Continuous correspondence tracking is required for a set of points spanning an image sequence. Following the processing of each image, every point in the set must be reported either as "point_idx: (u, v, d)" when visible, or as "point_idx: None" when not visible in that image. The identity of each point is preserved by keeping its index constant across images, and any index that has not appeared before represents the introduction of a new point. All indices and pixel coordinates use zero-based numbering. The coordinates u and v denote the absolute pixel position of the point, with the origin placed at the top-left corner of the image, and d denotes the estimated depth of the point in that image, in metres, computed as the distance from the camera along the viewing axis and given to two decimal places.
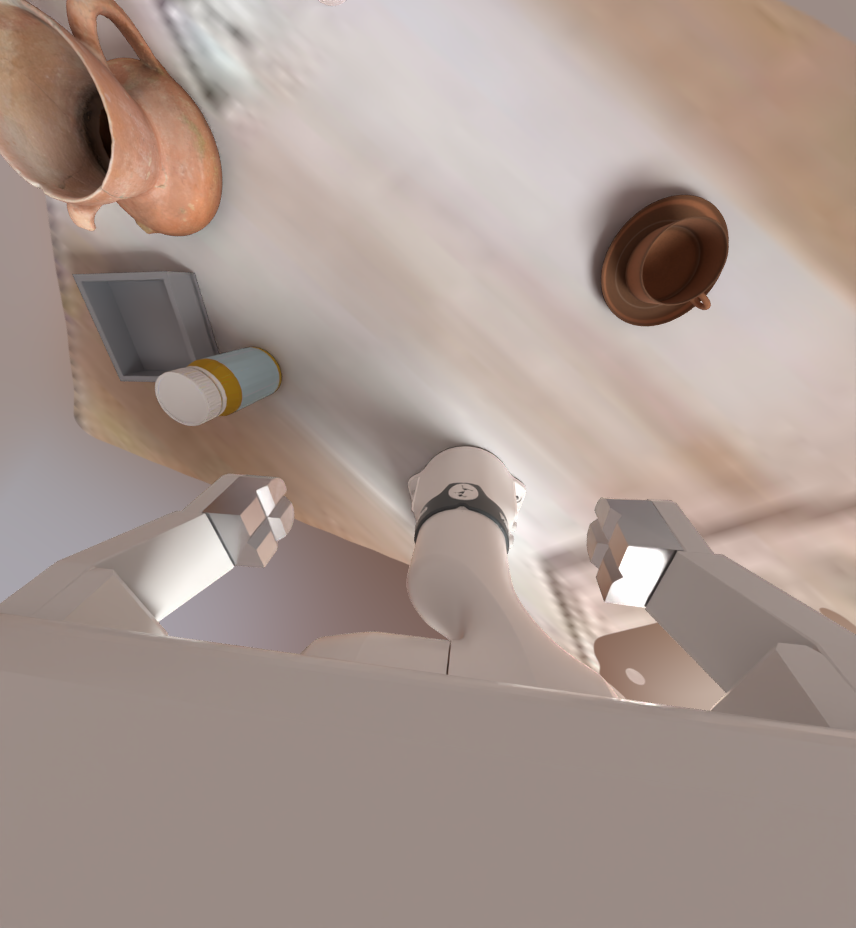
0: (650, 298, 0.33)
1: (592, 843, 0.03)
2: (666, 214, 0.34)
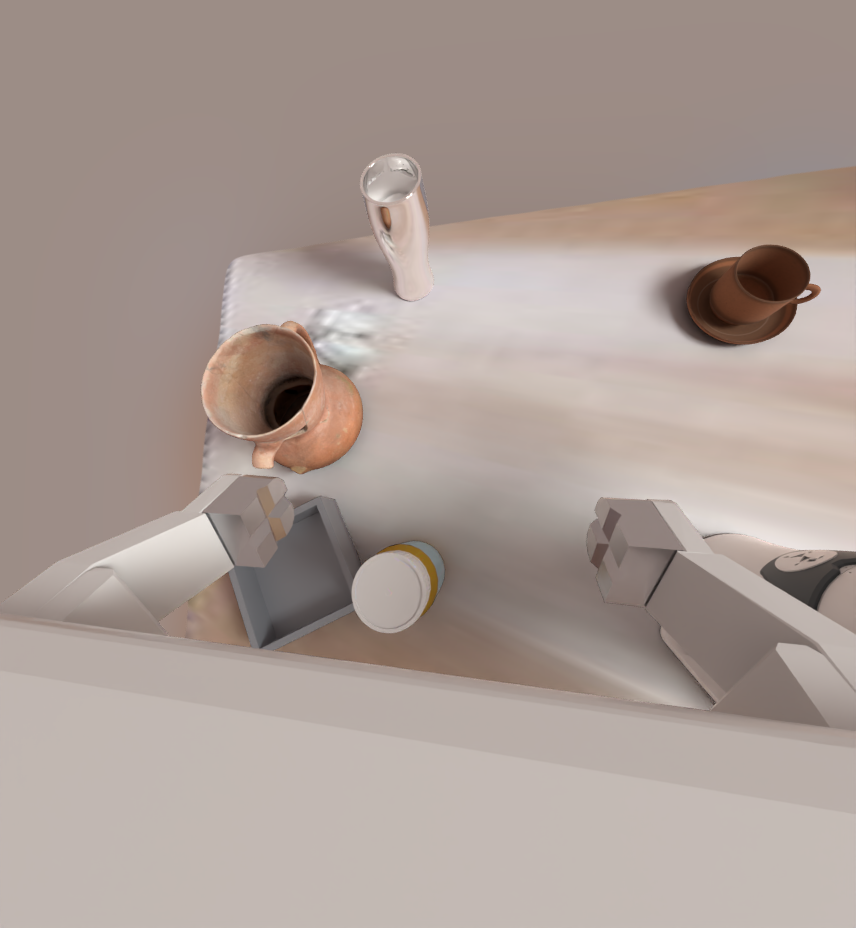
0: (772, 302, 0.36)
1: (592, 843, 0.03)
2: (708, 278, 0.43)
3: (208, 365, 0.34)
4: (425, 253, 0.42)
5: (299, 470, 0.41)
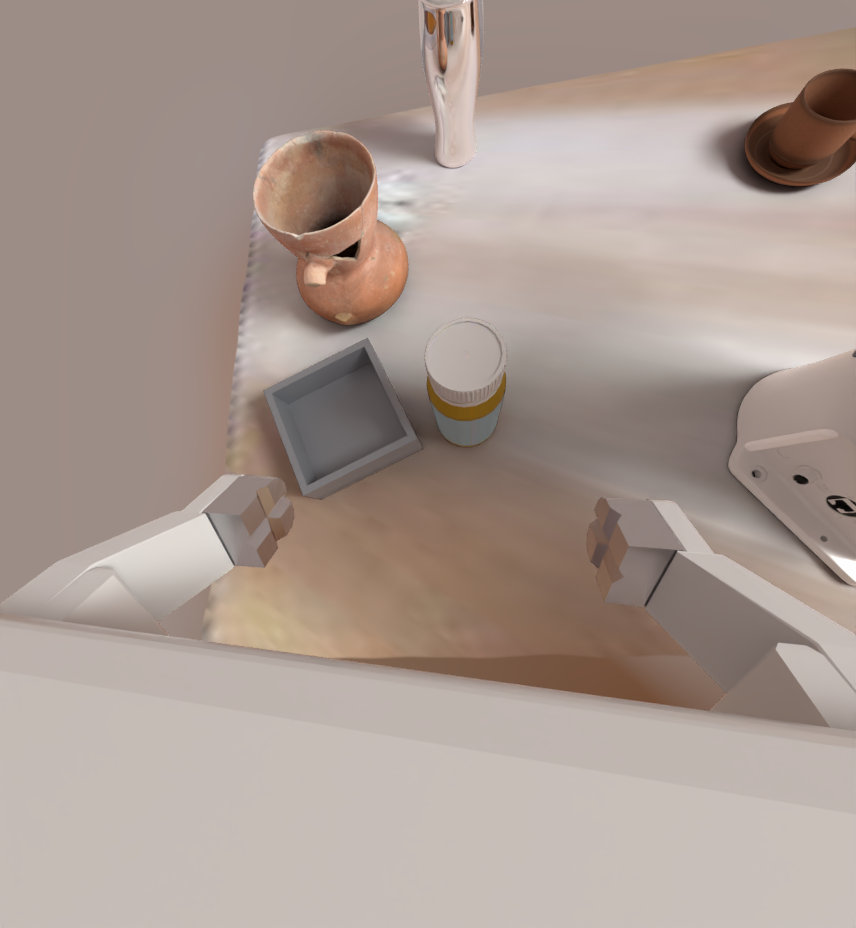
0: (843, 123, 0.35)
1: (592, 843, 0.03)
2: (766, 128, 0.41)
3: (260, 172, 0.32)
4: (475, 97, 0.40)
5: (344, 317, 0.40)
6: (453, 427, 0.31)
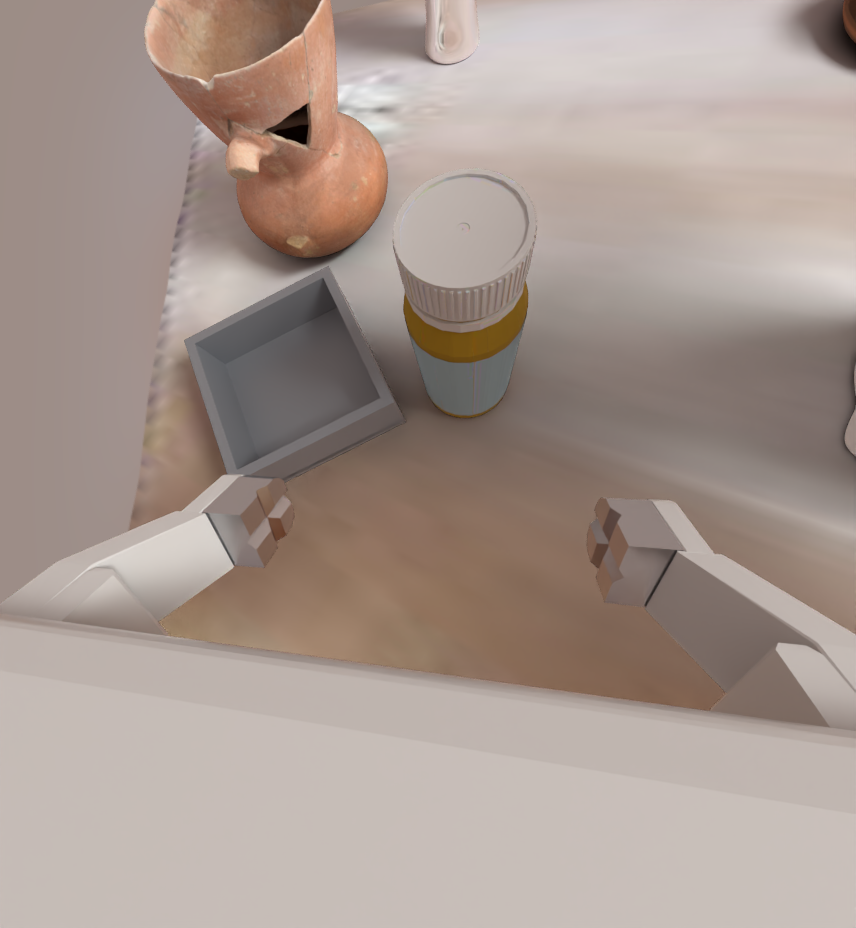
0: None
1: (592, 843, 0.03)
2: None
3: (157, 0, 0.22)
4: None
5: (298, 243, 0.29)
6: (446, 379, 0.21)
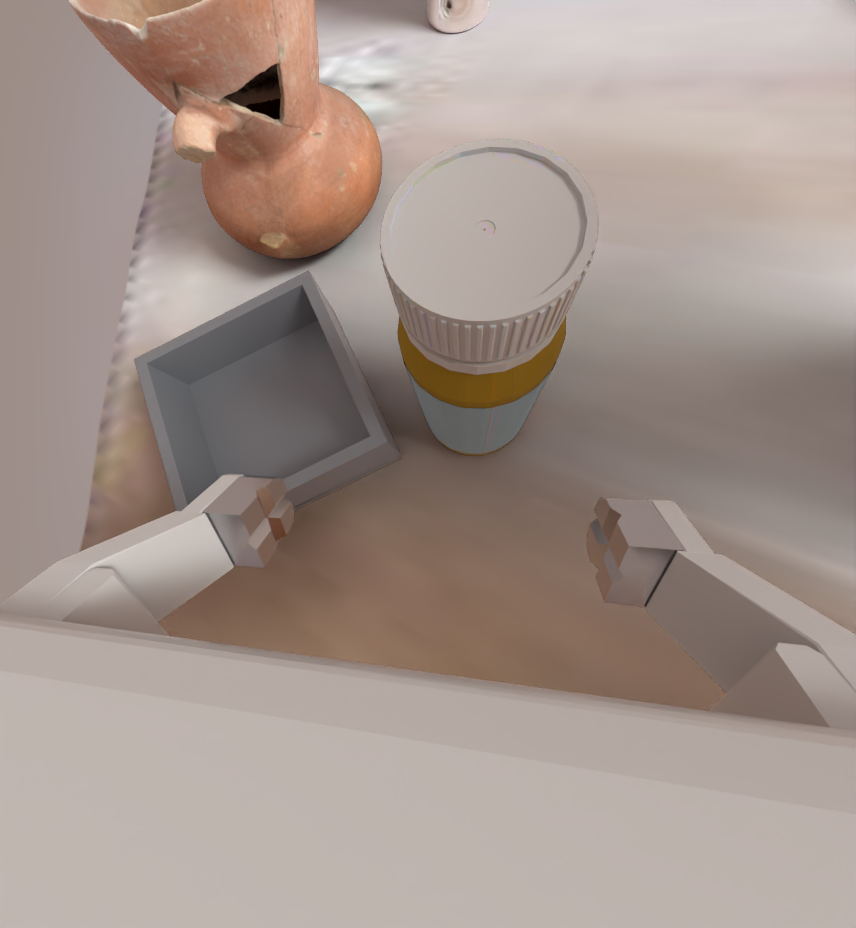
0: None
1: (592, 843, 0.03)
2: None
3: None
4: None
5: (274, 241, 0.24)
6: (452, 421, 0.16)
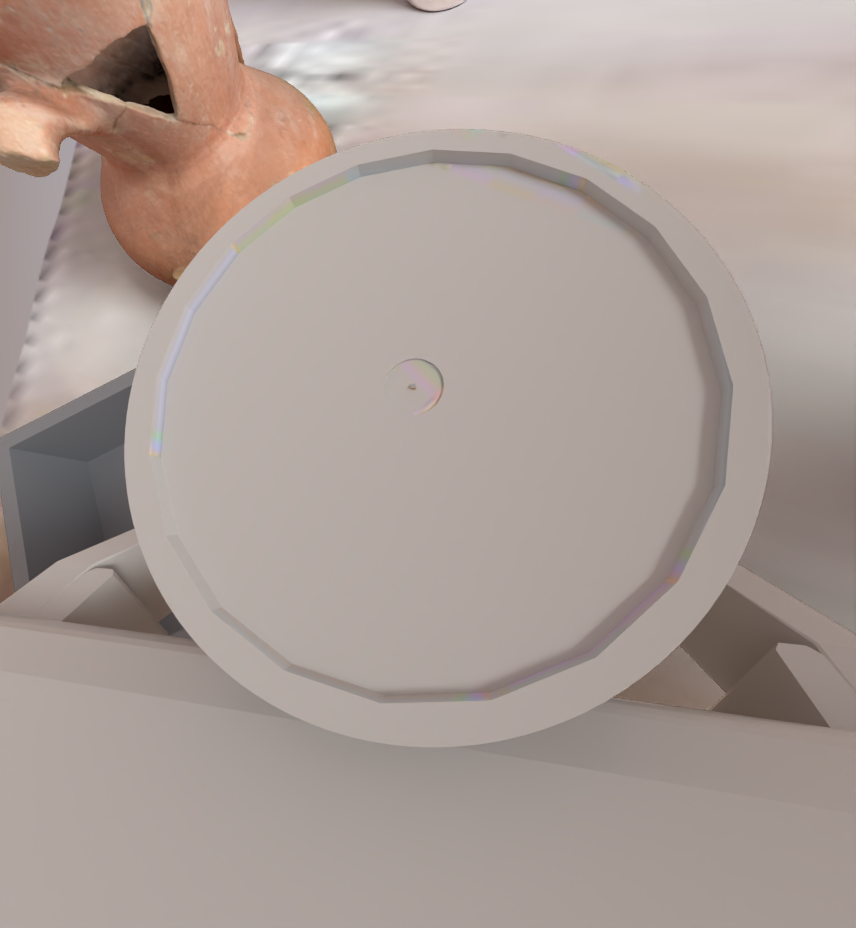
0: None
1: (592, 843, 0.03)
2: None
3: None
4: None
5: None
6: None
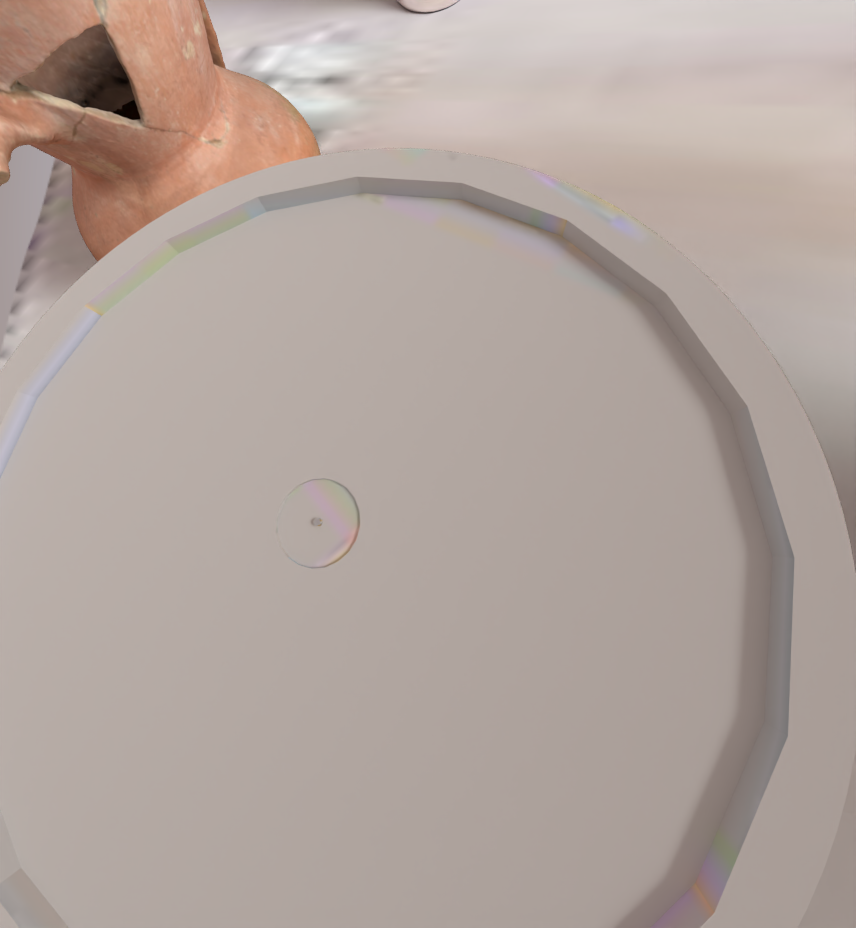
0: None
1: None
2: None
3: None
4: None
5: None
6: None
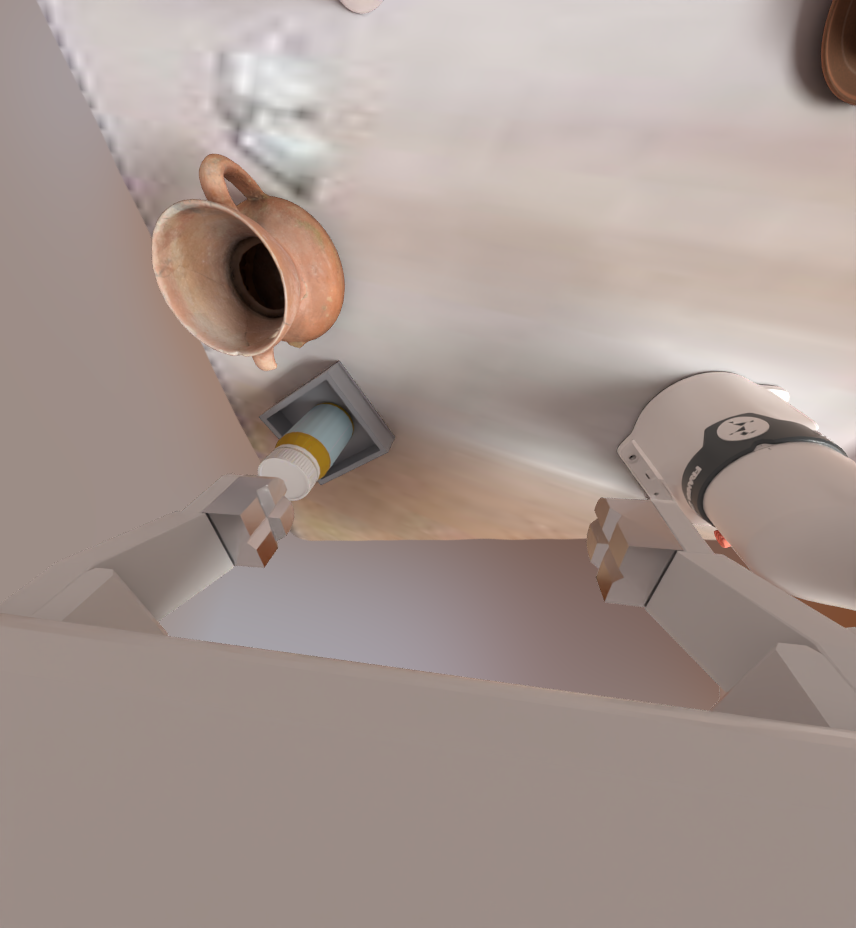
0: None
1: (592, 843, 0.03)
2: None
3: (155, 270, 0.29)
4: None
5: (297, 345, 0.41)
6: None
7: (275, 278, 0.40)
